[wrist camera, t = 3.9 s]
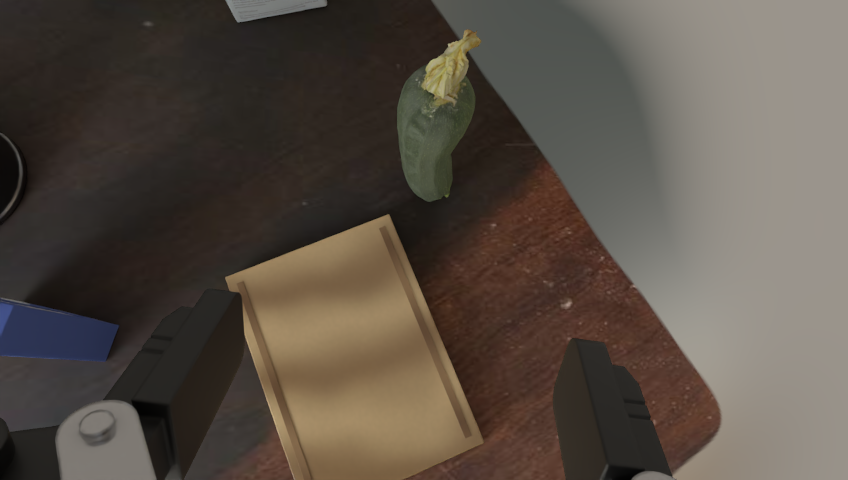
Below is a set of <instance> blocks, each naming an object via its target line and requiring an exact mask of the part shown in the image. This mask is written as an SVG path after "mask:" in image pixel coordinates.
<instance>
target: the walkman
mask: <svg viewBox="0 0 848 480" xmlns="http://www.w3.org/2000/svg"><path fill="white" fill-rule="evenodd" d="M118 327H119V325H116V324H112V323H108V322H104V321H100V320H96V319H93V318H88V317H84V316H80V315H76V314H73V313H68V312H65V311H61V310H56V309H52V308H48V307H44V306H39V305H34V304H30V303H26V302H22V301H17V300H12V299H7V298H2V297H0V356H16V357H33V358H51V359H69V360H86V361H104V362H105V361H106V359H107V356H108V354H109V351H110V348H111V346H112V343H113V340H114V338H115V335H116V332H117V330H118Z"/></svg>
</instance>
